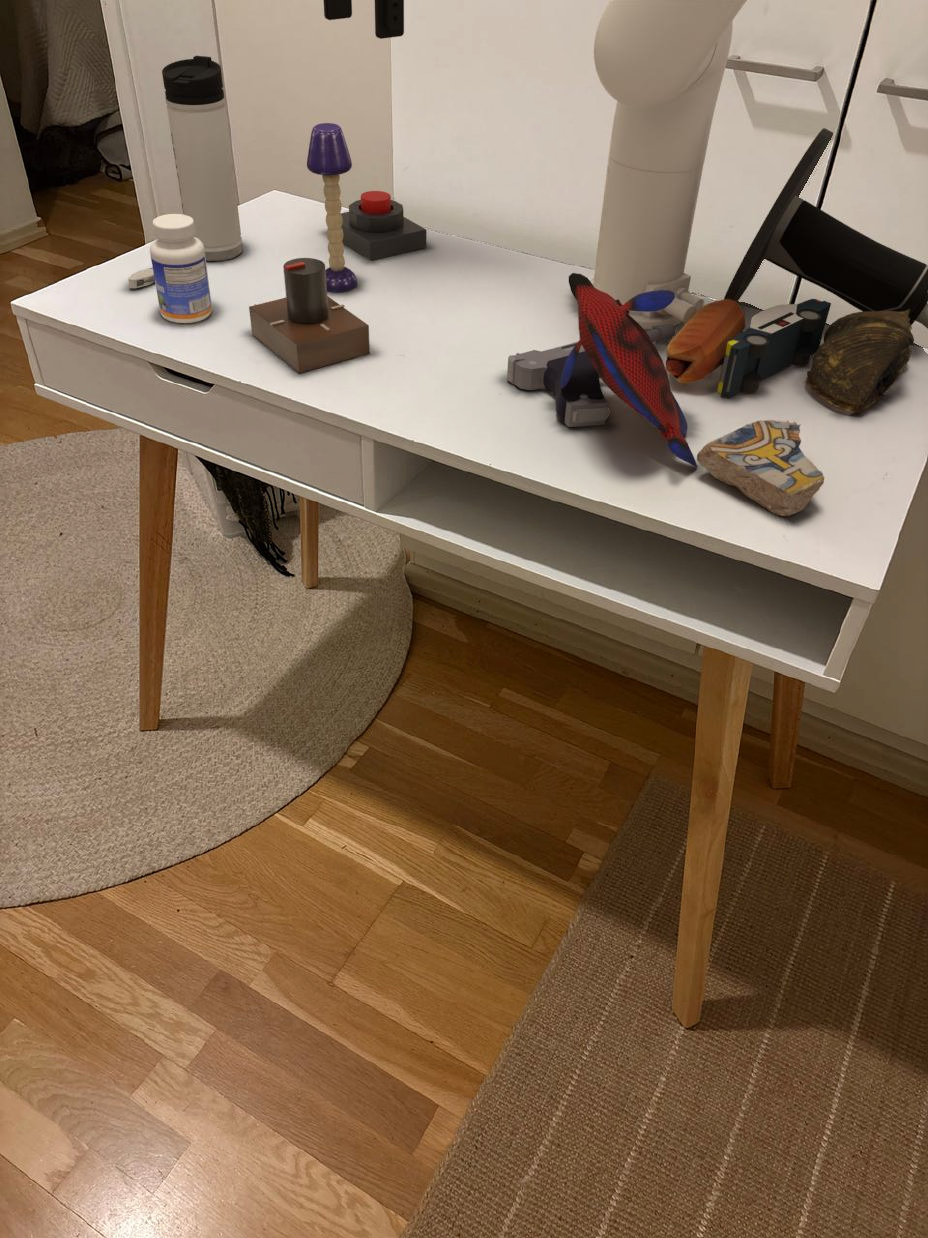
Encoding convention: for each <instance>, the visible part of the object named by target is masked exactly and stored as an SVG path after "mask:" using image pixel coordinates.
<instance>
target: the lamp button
mask: <svg viewBox="0 0 928 1238" xmlns="http://www.w3.org/2000/svg"><path fill="white" fill-rule="evenodd" d="M360 200H361V211H363V212H366V213H371V214H382V213H387V212H390V211H391V200H392V195H391V194H390V193H389V192H386V191H381V190H368V191H365V192H363V193H361V194H360Z"/></svg>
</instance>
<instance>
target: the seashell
mask: <svg viewBox="0 0 928 1238" xmlns="http://www.w3.org/2000/svg"><path fill="white" fill-rule="evenodd" d="M910 310H911V309H908V310H906V311H904V312H896V311H867V312H863V311H857V312H852V313H849V314H846V315H843V316H842V317H839V318H837V319H836V320H835V321H833V322H832V323H830V325H829V326H828V328H827V329H826V330H825V331H824V332H823V343H820V346H819V348H818V350H817V351H816V352H815V353H814V354H812V358H811V365H810V369H809V370H806V377H805V380H803V382H804V383H805V385H806V386H807V387H808V388H809V389H810V390H812V392H814V394H815V395H816V396H818V397H820V398H821V399H822V400H824V401H826V402H827V403H829V404H830V405H831V406H834V407H836V408H838V409H840V410H841V411H842V412H844V411H845V412H847V411H849V413H861V412H865V411H866V410H867V409H868V408H870V407H871V406H873V404H875V403H876V402H878V401H879V400H881V399H882V398H884V397H885V394H886V393H887V392H888V391H889V389H890V388H891V387H892V386H893V384H894V383H895V382H896V380H897V379H898V377H899V375H900V374H901V372H902V371H903V370H904V368H905V366H906V365H908V363H909V361H910V359H911V354H912V350H911V349H912V348H911V347H912V346H913V345H914V343H915V338H914V335H913V333H912V332H911V331H912V330H913V326H912V325H911V326H910V323H909V320H910V318H909V313H910Z"/></svg>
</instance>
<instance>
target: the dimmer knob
mask: <svg viewBox="0 0 928 1238" xmlns="http://www.w3.org/2000/svg"><path fill="white" fill-rule="evenodd" d="M282 267H283V279H284V289H285V298H286V302H287V313H288V318H289V319H290V320H292V321H294V322H297V323H302V324H312V323H318V322H321V321H323V320H325V319H326V318H327V317H328V301H327V296H328V291H327V285H326V269H327V268H326V263H324V262H323V260H320V259H318V258H314V257H313V258H312V257H297V258H293V259H289V260H288V261H286V262H285V263H284V264H283V265H282Z"/></svg>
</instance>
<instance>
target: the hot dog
mask: <svg viewBox="0 0 928 1238" xmlns="http://www.w3.org/2000/svg"><path fill="white" fill-rule="evenodd" d="M745 315H746V314H745V312H744V310H743V309H742V308H741V306H740V304H739V303H738V302H736V301H733V300H730V299H724V298H723V299H718V300H715V301H712V302H709V303H707V304H704V305H703V307H702V308H701V309H700V310H699V311H697V312H696V313H695V314H694V316H693V317H692V318H691V319H690V320H689V321H688V322H687V323H684V326H682V328H681V329H680V330H679V331H678V332H677V333H676V334H675V336H674V337H673V338H672V339H670V340H671V341H669V343H668V345H667V348H666V359H665V368H666V371H667V373H668V374H669V375H670V376H672V377H673V378H675V379H676V380H677V381H678V382H679V383H680V384H692V383H695V382H699V381H701V380H704V379H705V378H707V377H708V376H709V375H710V374H713V373H714V372H715V371H716V370H718V369H719V368H720V367H722V365H723V361H724V356H725V351H726V347H727V342H728V341H729V340H730V339H732V338H733V337H734V336H736V335H738V334H739V333H741V332H743V331H744V330H745V328H746V317H745Z"/></svg>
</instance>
